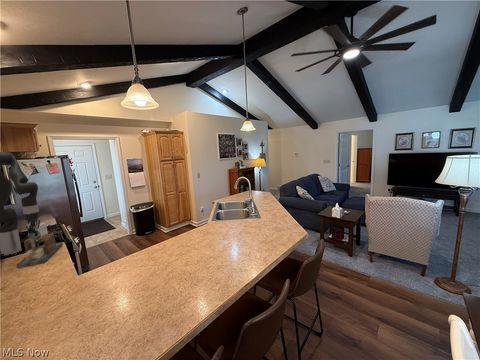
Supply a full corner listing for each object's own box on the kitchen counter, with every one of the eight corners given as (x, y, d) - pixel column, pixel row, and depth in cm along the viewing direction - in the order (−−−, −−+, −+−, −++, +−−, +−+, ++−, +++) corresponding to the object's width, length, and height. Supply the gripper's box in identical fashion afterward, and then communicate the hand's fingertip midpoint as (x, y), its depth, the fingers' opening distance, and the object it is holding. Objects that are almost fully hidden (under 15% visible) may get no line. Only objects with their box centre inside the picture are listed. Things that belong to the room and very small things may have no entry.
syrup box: (49, 238, 174) (46, 222, 171) (41, 241, 168) (38, 225, 166) (43, 238, 174) (40, 222, 172) (35, 241, 168) (32, 225, 166)
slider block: (26, 260, 133) (21, 236, 130) (31, 256, 138) (26, 232, 136) (39, 258, 135) (35, 234, 133) (44, 254, 141) (40, 231, 138)
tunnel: (17, 268, 129) (13, 247, 127) (40, 248, 155) (37, 231, 153) (44, 263, 135) (41, 243, 132) (63, 245, 160) (60, 228, 158)
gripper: (29, 210, 141) (33, 233, 143) (17, 215, 129) (22, 240, 131) (43, 208, 144) (47, 231, 146) (32, 213, 131) (37, 238, 134)
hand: (35, 235), depth 139 cm, fingers closed
